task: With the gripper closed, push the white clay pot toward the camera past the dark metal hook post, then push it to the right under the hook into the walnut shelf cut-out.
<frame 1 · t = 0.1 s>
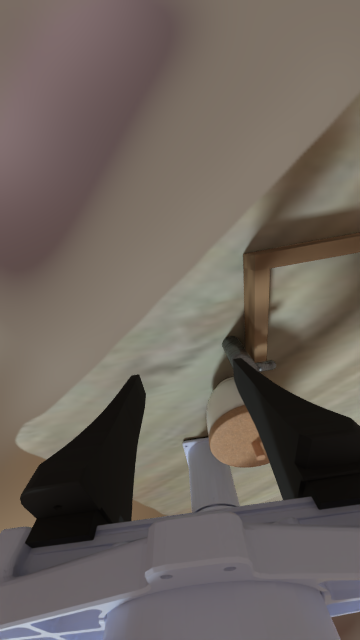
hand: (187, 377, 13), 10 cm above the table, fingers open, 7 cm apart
lidded jar: (233, 390, 28), on the table
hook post: (230, 343, 24), on the table
walnut shelf: (314, 302, 22), on the table
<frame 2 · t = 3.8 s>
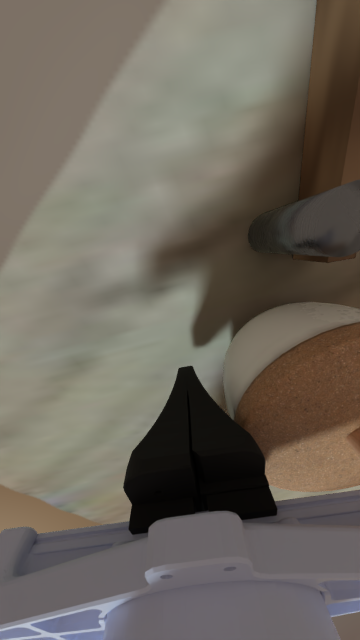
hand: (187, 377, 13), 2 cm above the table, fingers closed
lidded jar: (267, 343, 15), on the table, touching gripper
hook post: (266, 233, 12), on the table
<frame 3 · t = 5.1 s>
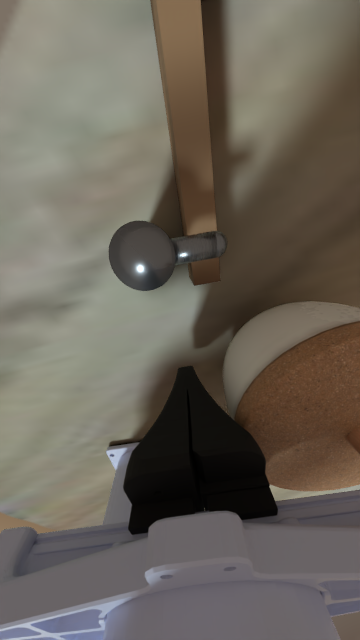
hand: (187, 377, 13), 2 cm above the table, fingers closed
lidded jar: (267, 343, 15), on the table, touching gripper
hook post: (156, 252, 12), on the table
walnut shelf: (329, 145, 10), on the table
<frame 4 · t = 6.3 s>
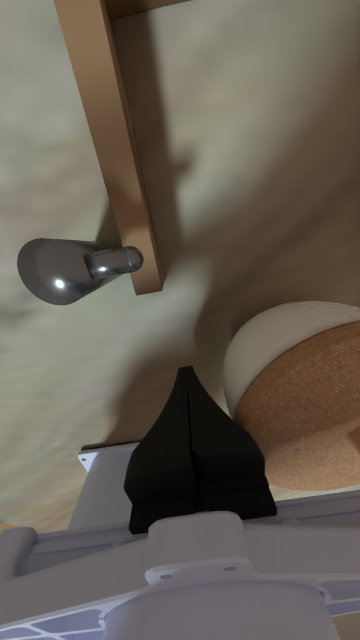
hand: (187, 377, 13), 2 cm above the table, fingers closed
lidded jar: (267, 343, 15), on the table, touching gripper
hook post: (108, 261, 12), on the table
walnut shelf: (270, 155, 10), on the table
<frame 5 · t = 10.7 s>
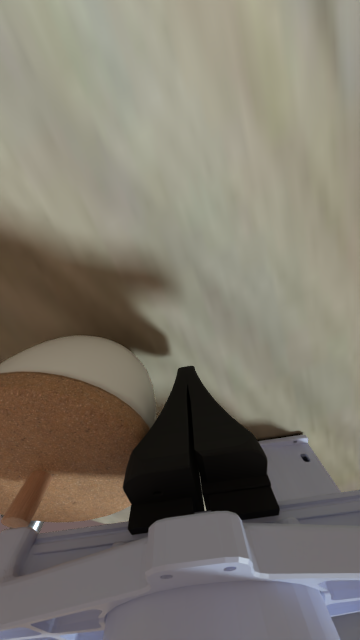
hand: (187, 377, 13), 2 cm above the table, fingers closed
lidded jar: (103, 367, 16), on the table, touching gripper
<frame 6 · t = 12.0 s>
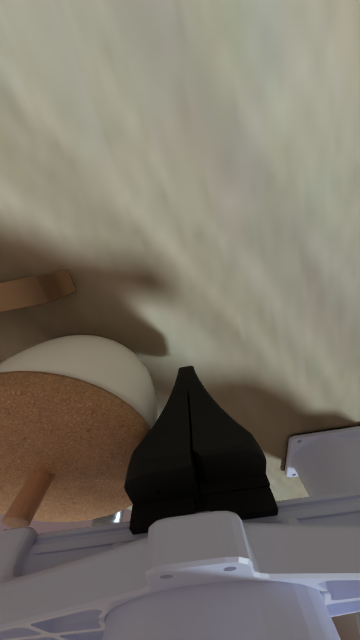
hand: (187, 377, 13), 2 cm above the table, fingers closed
lidded jar: (104, 366, 16), on the table, touching gripper
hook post: (124, 448, 20), on the table
walnut shelf: (46, 381, 16), on the table
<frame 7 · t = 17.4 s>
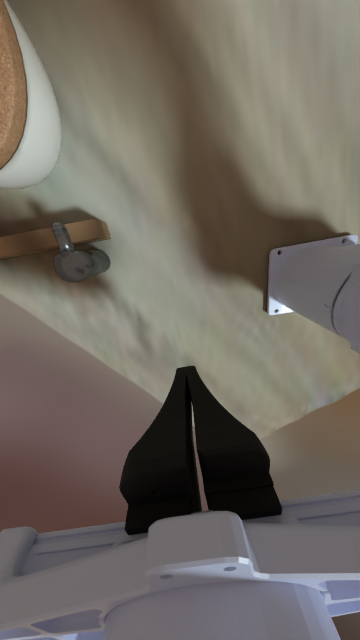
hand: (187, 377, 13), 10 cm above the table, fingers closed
lidded jar: (23, 132, 15), on the table
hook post: (99, 261, 19), on the table
walnut shelf: (10, 139, 15), on the table
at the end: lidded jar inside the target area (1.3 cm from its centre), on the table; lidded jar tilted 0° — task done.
